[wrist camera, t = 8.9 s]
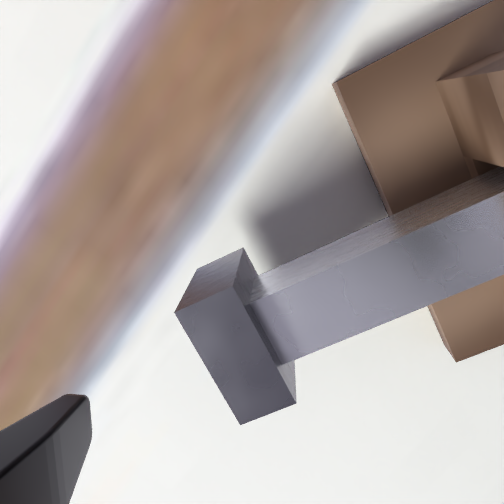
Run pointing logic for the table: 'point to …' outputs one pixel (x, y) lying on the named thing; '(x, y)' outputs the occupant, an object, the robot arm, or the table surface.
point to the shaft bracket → (438, 142)
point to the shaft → (338, 291)
